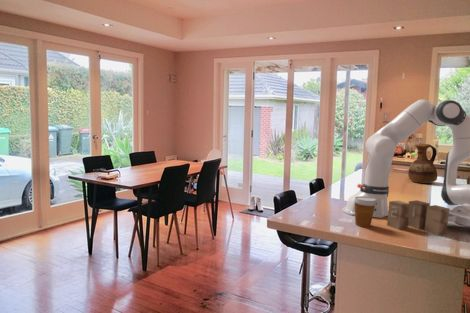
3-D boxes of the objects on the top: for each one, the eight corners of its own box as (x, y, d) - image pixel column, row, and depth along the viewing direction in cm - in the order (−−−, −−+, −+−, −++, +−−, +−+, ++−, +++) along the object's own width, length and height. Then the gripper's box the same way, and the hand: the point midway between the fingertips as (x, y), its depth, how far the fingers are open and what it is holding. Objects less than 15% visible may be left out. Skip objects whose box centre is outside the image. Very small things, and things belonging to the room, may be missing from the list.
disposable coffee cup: (350, 226, 162) (353, 199, 161) (352, 220, 171) (354, 195, 170) (374, 229, 159) (376, 202, 158) (374, 223, 168) (376, 197, 167)
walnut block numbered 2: (395, 224, 169) (398, 200, 168) (407, 228, 164) (410, 203, 163) (386, 225, 166) (388, 201, 165) (398, 229, 161) (400, 204, 160)
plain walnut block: (432, 229, 163) (435, 205, 162) (446, 233, 158) (449, 208, 157) (424, 231, 160) (427, 206, 159) (437, 235, 155) (440, 209, 154)
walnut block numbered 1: (414, 223, 171) (417, 200, 170) (426, 227, 166) (429, 203, 165) (405, 225, 168) (408, 201, 167) (418, 229, 163) (420, 204, 162)
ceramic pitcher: (402, 179, 297) (406, 142, 294) (426, 180, 299) (430, 143, 296) (417, 184, 278) (421, 144, 274) (442, 185, 280) (446, 145, 277)
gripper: (441, 203, 177) (423, 205, 170) (487, 214, 159) (469, 217, 152) (439, 216, 178) (421, 219, 171) (485, 228, 160) (467, 232, 153)
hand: (444, 218), depth 161 cm, fingers closed
